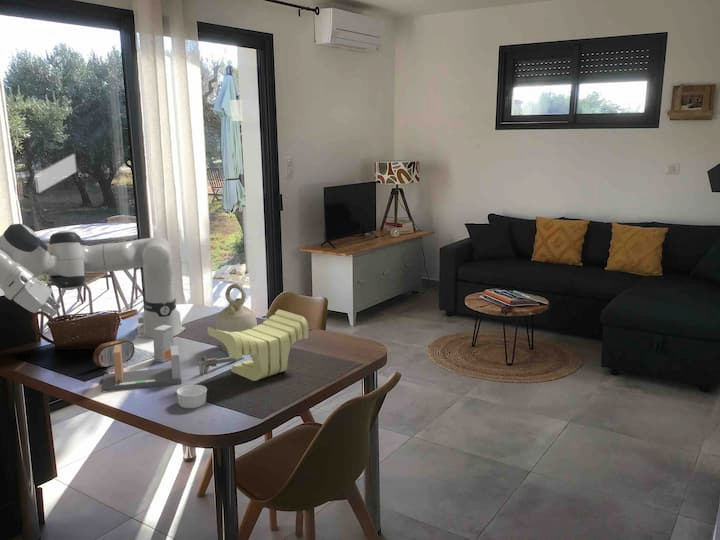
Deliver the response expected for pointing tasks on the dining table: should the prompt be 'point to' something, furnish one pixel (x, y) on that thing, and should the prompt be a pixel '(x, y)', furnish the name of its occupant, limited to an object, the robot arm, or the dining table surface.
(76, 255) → the robot arm
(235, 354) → the slatted curved stool
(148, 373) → the gauge board
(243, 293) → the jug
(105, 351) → the tin
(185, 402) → the ramekin
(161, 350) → the skincare box
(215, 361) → the caliper
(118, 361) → the paddle
